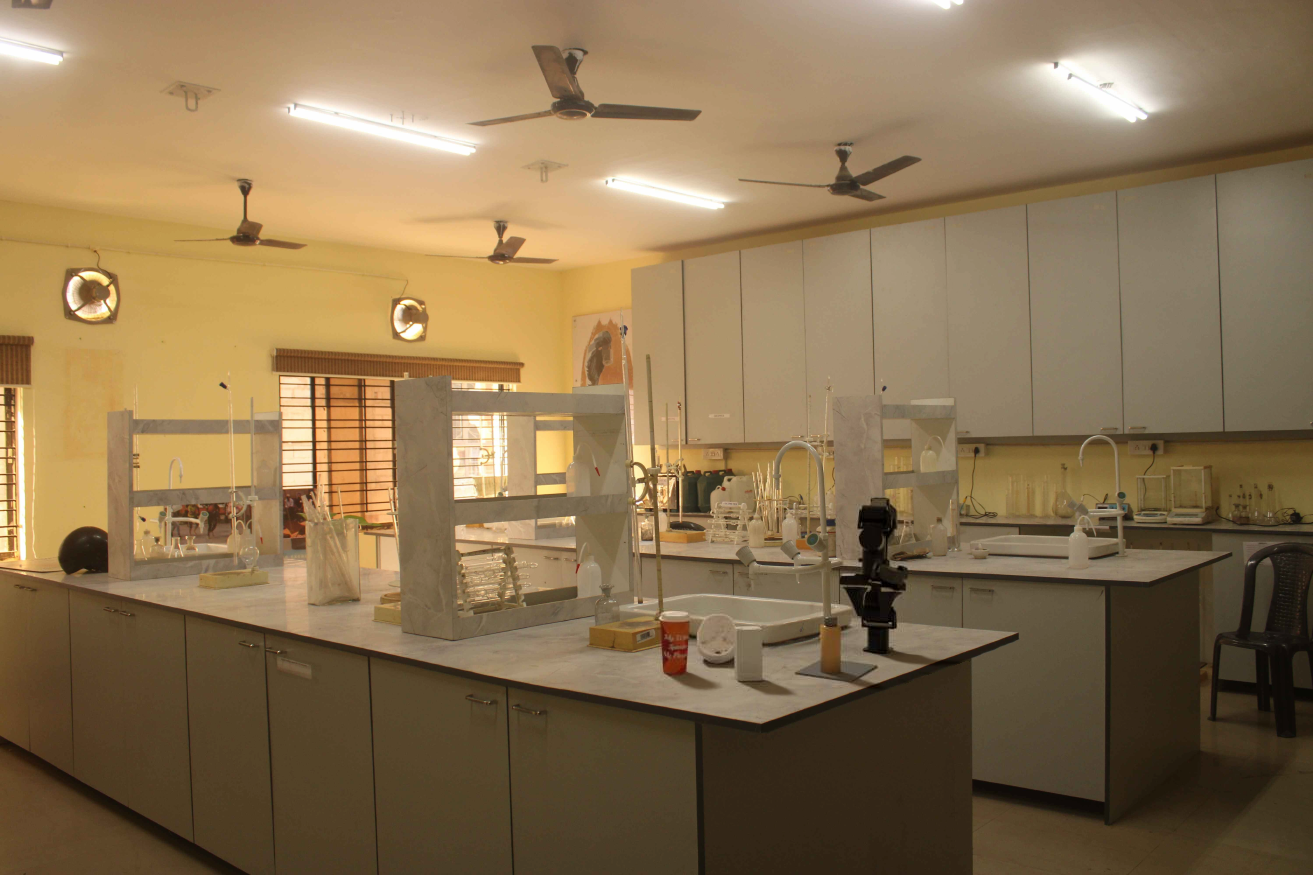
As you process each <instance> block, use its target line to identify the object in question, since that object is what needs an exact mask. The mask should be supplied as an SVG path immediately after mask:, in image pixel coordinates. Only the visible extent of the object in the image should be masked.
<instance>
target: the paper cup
mask: <svg viewBox="0 0 1313 875" xmlns="http://www.w3.org/2000/svg"><path fill="white" fill-rule="evenodd" d="M658 620H659V621H660V641H661V642H660V645H661V646H660V647H661V656H662V657H661V661H662V671H663V673H664V674H666V675H676V676H677V675H683V674H686V673H687V669H688V668H687V666H688V653H689V651H688V650H689V639H690V638H689V636H690V635H689V634H690V621H692V618H691V615H690V614H689V612H687V611H679V610H677V611H676V610H675V611H674V610H670V611H662V612H661V613H660V616H659V617H658Z"/></svg>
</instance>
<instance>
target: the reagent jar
mask: <svg viewBox="0 0 1313 875" xmlns="http://www.w3.org/2000/svg"><path fill="white" fill-rule="evenodd" d="M819 631H820V635H819V636H820V640H819V641H820V650H819V651H820V660H821V672H822V673H825V674H839V673H841V660H842V626H841V624H838V617H837V616H832V615H828V616H827V615H825V616H824V617H823V624H820V630H819Z"/></svg>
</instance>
